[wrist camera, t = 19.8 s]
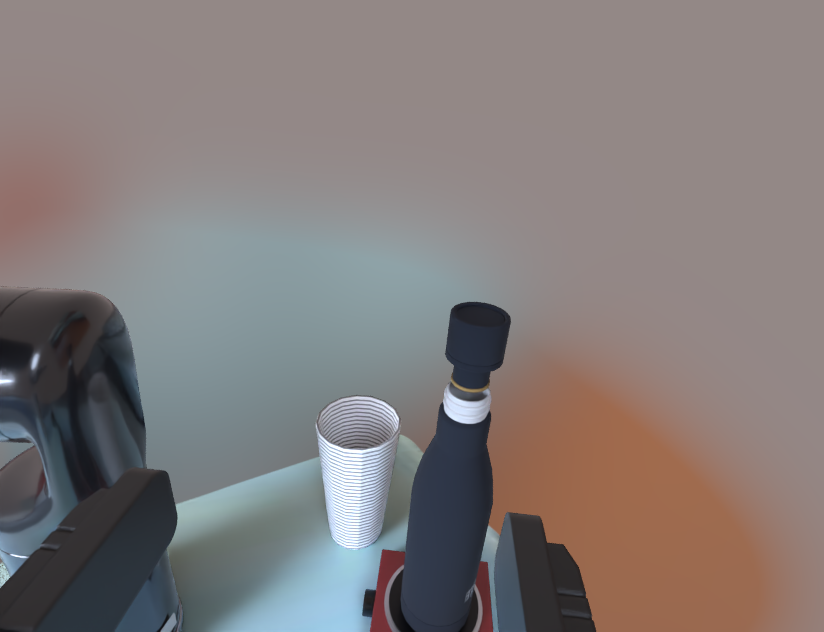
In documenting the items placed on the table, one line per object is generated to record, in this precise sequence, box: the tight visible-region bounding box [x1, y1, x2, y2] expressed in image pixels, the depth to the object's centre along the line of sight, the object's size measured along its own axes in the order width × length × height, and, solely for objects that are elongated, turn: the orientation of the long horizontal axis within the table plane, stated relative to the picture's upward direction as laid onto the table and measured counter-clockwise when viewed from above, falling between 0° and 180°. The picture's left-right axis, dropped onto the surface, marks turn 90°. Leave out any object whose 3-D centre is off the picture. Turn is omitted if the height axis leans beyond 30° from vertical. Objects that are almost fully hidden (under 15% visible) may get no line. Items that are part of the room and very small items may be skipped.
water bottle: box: [400, 302, 511, 632], centre depth 36 cm, size 6×6×30 cm
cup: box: [316, 395, 401, 550], centre depth 48 cm, size 8×8×16 cm
